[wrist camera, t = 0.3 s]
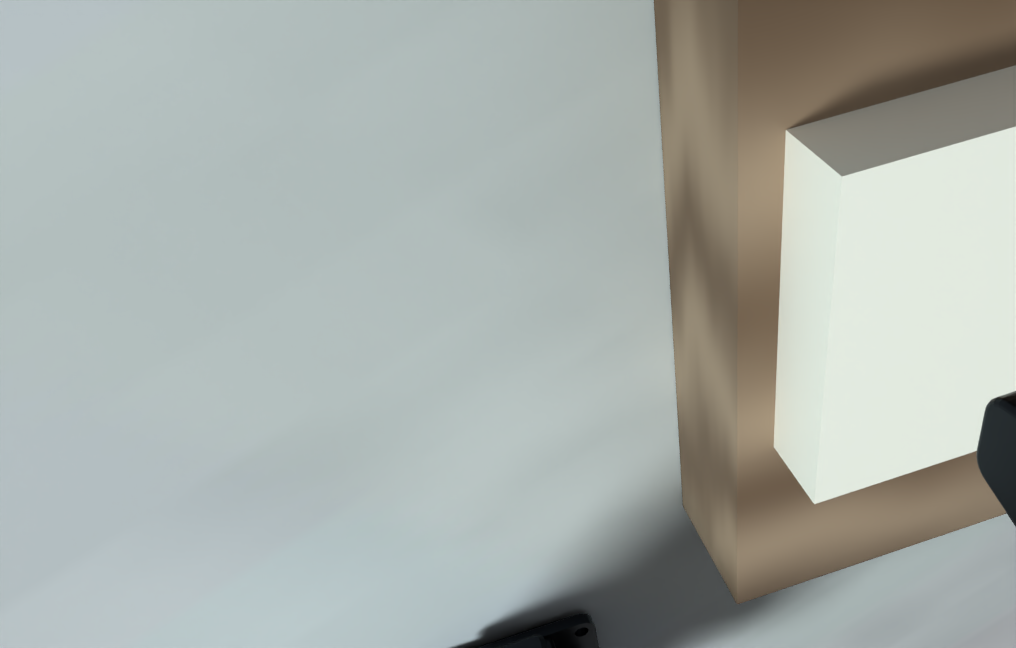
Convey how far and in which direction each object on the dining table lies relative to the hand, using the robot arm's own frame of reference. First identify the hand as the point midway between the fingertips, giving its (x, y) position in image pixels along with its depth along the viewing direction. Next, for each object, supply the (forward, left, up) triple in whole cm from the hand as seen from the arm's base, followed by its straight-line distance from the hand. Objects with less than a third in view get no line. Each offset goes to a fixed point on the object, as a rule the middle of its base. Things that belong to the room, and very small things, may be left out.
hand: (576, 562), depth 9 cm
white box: (-6, -10, -9) cm, 15 cm away
